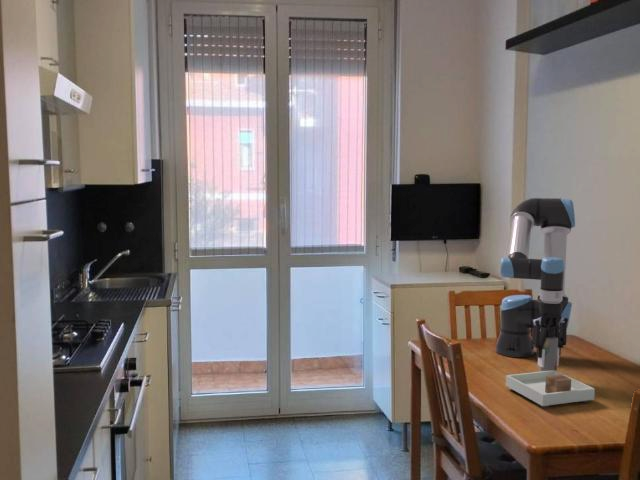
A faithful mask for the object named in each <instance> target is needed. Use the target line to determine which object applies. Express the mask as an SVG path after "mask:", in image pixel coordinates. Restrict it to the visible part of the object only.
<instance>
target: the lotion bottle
mask: <svg viewBox="0 0 640 480" xmlns="http://www.w3.org/2000/svg"><path fill="white" fill-rule="evenodd" d="M545 328H546V327H545ZM555 336H556V325H554V326H550V329H549V331H548V332H547V336H546V339H545V343H544V346H543V349H545V359H544V367H540V366H539V372H541V371H550V370H555V371H557V370H558V366H557V353H558V338H557V337H555Z"/></svg>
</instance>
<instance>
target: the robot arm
mask: <svg viewBox="0 0 640 480" xmlns="http://www.w3.org/2000/svg"><path fill="white" fill-rule="evenodd" d="M575 219H576V217H575V205H574V202H573V200H571V199H569V198H561V197H560V198H549V197H548V198H547V197H546V198H545V197H544V198H542V197H541V198H540V197H531V198H528V199H526V200H524V201H522V202H520V203H519V204H518V205H517V206H516V207H515V208H514V209H513V211H512V213H510V218H509V224H510V226H511V230H510V237H509V244H508V250H507V256H506V257H502V258H501V259H500V270H499V272H500V273H499V274H500V276H501V277H503V278H506V279H507V278H510V279H520V280H522V279H524V280H535V281H537V280H539V281H540V287H539V288H540V289H539V290H540V291H539V293H538V295H537V299H533V298H532V296H531V295H529V294H514V295H513V294H512V295H509V296H506V297H504V298H502V300H501V307H500V332H499V335H498V338H497V340H496V341H497V342H496V343H495V347H494V349H495V353H497V354H498V355H501V356H506V357H509V358H528V357H529V358H530V357H532V356H534V355H535V348H536V358H537V366H538V367H539V368H540V367H544V359H545V349H543V346H544V343H545V339H546V336H547V332H548V331H549V329H550V326H554V325H556V336H555V337H557V338H558V353H557V367H558V366H560V356H561V354H562V349H563V348H564V346H566V345H567V330H568V328H569V323H570V317H571V311H572V305H573V303H572V302H571V301H569V296H567V294H566V293H565V291H566V287H565V286H566V269H567V267H566V265H567V242H568V241H567V240H568V235H569V234H571V232H572V228H575V226H576V220H575ZM534 227H540V231H541V233H542V234H544V239H543V240H544V241H543V258H542V259H540V258H529V254H530V244H531V233H532V229H533V228H534ZM545 327H546V328H545ZM531 329H532V334H531ZM531 335H532V336H531Z"/></svg>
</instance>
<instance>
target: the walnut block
mask: <svg viewBox="0 0 640 480" xmlns="http://www.w3.org/2000/svg"><path fill="white" fill-rule="evenodd" d="M562 391H571V379H569V378H567V377H565V376H563V375H561V374H557V375H548V376H546V385H545V392H546V393H554V392H562Z"/></svg>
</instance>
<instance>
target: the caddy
mask: <svg viewBox="0 0 640 480" xmlns="http://www.w3.org/2000/svg"><path fill="white" fill-rule="evenodd" d="M557 374H561V375H563V376H565V377H567V378H569V379H571V391H562V392H554V393H546V392H545V385H546V376H548V375H557ZM505 387H507V388H509V389H510V391H512V392H516V393H517V394H520V395H522V396H523V397H525V398H527V399H528V400H531V401H532V402H534V403H536V404H537V405H539V406H540V408H542V409H548V408H549V406H553V405H554V406H555V405H562V404H569V403H575V402H576V403H577V402H578V403H579V402H580V403H581V404H582V403H583V404H587V403H589V401H594V400H595V391H596V389H595V388H594V387H592V386H590V385H588V384H586V383H584V382H582V381H579V380H577V379H575V378H572V377H571V376H569V375H566V374H564V373H562V372H560V371H555V370H550V371H541V372H540V371H533V372H524V373H516V374H515V373H514V374H507V375H505Z"/></svg>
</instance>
